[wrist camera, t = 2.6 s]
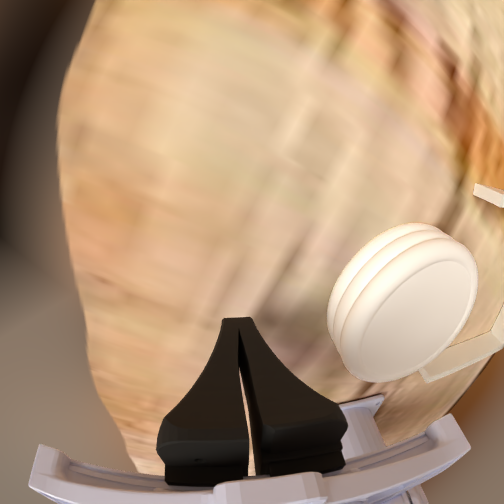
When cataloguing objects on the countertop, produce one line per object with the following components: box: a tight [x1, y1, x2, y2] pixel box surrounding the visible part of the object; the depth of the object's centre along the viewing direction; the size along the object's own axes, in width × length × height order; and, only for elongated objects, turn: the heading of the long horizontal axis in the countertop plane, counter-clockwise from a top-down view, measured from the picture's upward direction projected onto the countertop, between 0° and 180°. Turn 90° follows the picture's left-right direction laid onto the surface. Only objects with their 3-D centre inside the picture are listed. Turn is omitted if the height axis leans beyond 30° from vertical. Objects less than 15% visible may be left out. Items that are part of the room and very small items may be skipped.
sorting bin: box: [418, 183, 504, 383], centre depth 16 cm, size 16×13×2 cm
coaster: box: [327, 223, 478, 383], centre depth 14 cm, size 10×10×4 cm
